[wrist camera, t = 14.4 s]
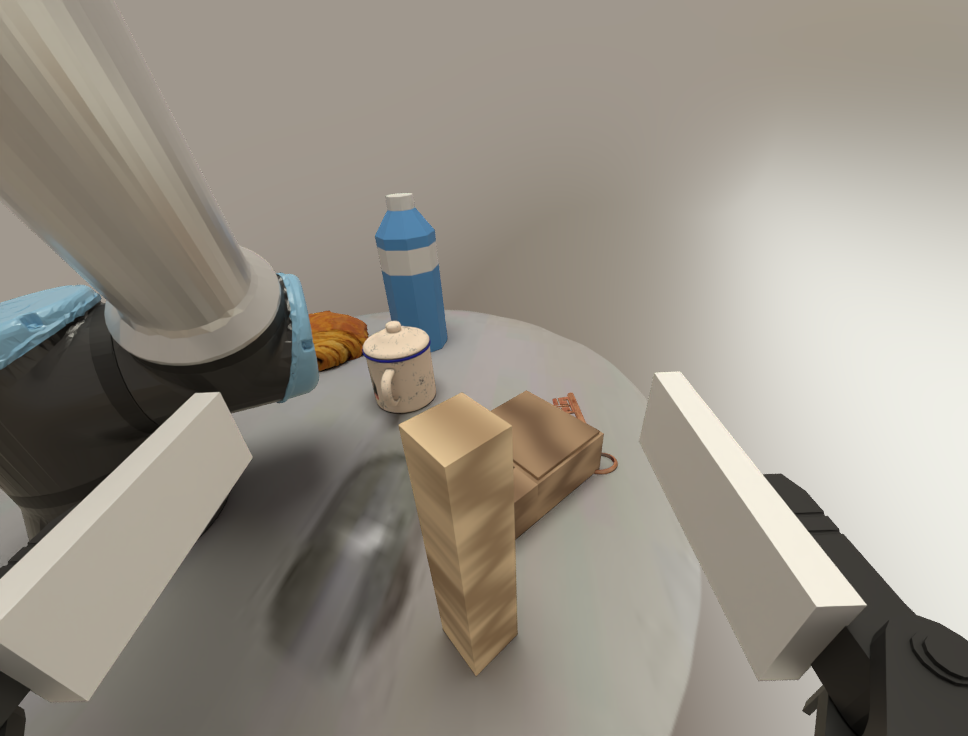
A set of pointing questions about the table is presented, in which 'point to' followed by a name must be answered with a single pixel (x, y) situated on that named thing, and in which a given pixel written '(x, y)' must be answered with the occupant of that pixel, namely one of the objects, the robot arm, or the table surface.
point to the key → (579, 416)
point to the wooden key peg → (467, 521)
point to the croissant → (336, 338)
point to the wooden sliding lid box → (546, 455)
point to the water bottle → (411, 269)
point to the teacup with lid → (400, 367)
